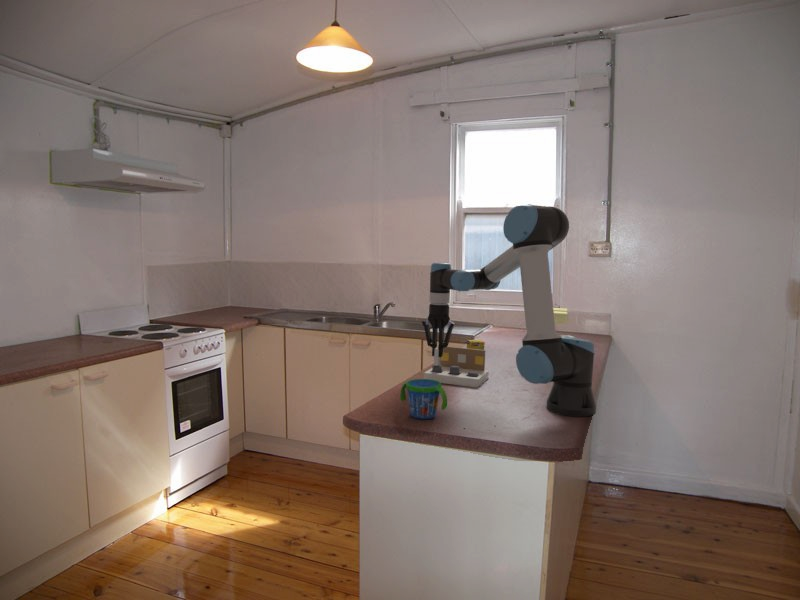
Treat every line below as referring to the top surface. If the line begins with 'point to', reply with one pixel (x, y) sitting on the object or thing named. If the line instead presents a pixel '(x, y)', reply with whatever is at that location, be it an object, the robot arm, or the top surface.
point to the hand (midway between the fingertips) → (436, 364)
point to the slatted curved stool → (560, 315)
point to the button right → (472, 374)
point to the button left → (437, 369)
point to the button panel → (461, 367)
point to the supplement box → (475, 344)
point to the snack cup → (423, 397)
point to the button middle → (454, 370)
